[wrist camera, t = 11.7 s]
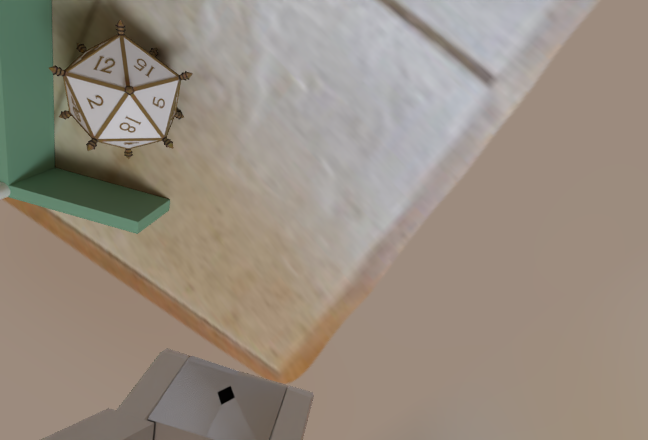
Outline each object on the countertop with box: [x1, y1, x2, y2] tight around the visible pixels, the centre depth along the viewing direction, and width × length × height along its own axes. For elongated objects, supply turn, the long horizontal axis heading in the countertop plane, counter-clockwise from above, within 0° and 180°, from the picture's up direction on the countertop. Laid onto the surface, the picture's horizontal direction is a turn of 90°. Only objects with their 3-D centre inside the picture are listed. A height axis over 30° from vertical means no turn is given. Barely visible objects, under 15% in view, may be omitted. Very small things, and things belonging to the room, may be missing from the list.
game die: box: [49, 20, 192, 159], centre depth 32 cm, size 9×8×10 cm
